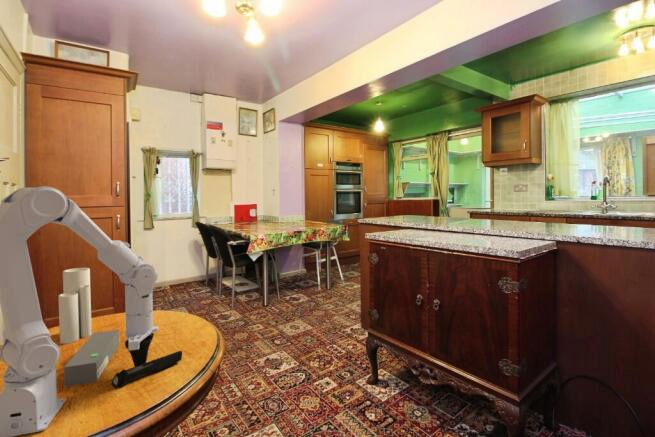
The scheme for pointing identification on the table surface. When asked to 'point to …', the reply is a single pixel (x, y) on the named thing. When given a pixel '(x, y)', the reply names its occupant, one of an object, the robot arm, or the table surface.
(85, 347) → the charging dock
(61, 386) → the table surface
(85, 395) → the table surface
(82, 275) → the vase
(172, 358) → the electric trimmer
